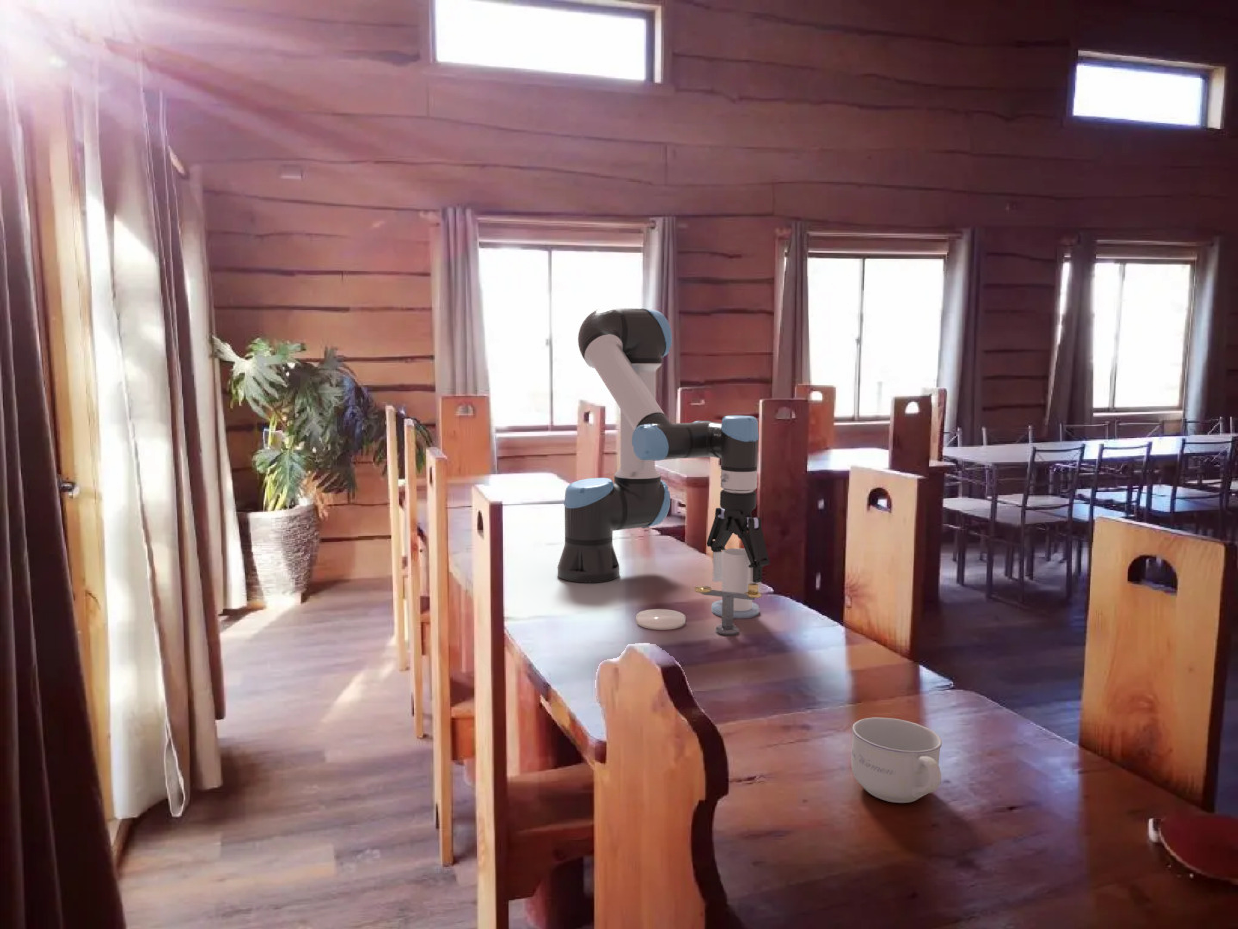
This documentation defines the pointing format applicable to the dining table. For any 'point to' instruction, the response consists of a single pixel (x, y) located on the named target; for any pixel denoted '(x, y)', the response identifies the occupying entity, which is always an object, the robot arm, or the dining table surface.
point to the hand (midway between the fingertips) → (735, 589)
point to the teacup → (895, 758)
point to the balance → (729, 605)
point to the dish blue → (736, 614)
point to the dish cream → (660, 619)
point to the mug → (736, 576)
